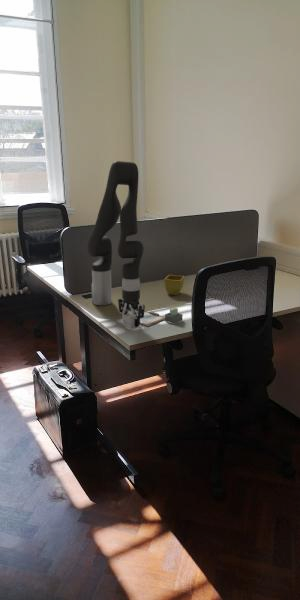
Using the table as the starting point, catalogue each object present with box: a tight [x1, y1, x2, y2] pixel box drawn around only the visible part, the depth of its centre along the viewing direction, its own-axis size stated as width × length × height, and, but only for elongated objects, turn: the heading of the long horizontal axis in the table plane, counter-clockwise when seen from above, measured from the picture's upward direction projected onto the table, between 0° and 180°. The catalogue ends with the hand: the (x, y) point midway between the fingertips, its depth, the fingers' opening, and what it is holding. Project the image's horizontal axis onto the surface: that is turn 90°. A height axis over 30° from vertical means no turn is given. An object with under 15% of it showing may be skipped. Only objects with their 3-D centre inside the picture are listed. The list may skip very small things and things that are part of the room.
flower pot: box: [163, 274, 185, 296], centre depth 230 cm, size 9×9×9 cm
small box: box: [122, 312, 141, 330], centre depth 187 cm, size 6×6×5 cm
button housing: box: [164, 312, 183, 324], centre depth 194 cm, size 6×6×3 cm
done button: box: [169, 307, 179, 317], centre depth 193 cm, size 4×4×4 cm
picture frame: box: [140, 310, 165, 328], centre depth 196 cm, size 14×13×1 cm
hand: (131, 324), depth 188 cm, fingers closed on small box, 6 cm apart
